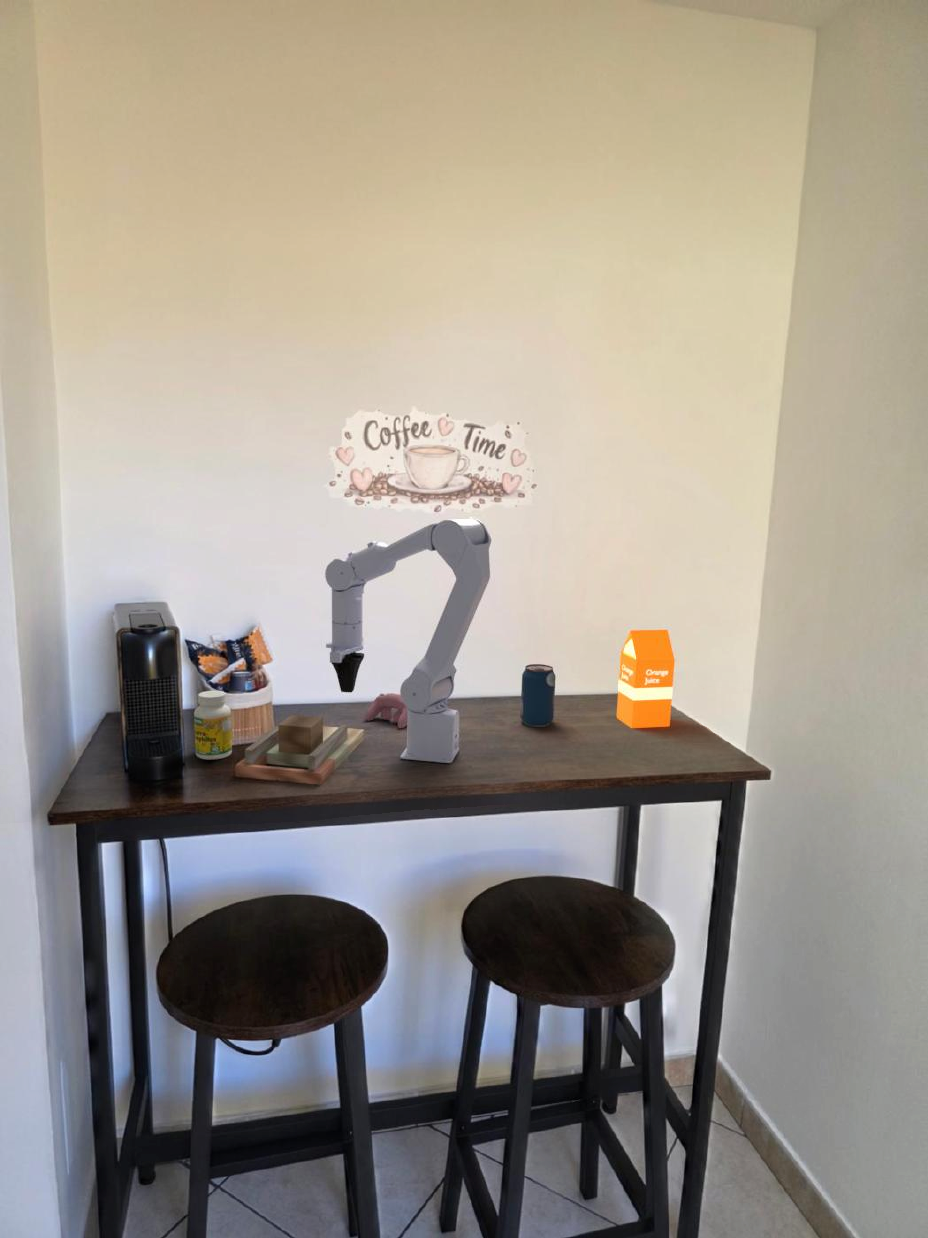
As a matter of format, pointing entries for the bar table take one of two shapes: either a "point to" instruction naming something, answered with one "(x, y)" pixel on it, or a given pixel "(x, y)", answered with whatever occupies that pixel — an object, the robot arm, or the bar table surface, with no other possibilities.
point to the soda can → (537, 695)
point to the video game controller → (388, 709)
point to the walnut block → (300, 734)
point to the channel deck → (299, 757)
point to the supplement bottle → (212, 726)
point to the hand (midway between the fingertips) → (347, 691)
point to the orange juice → (646, 679)
